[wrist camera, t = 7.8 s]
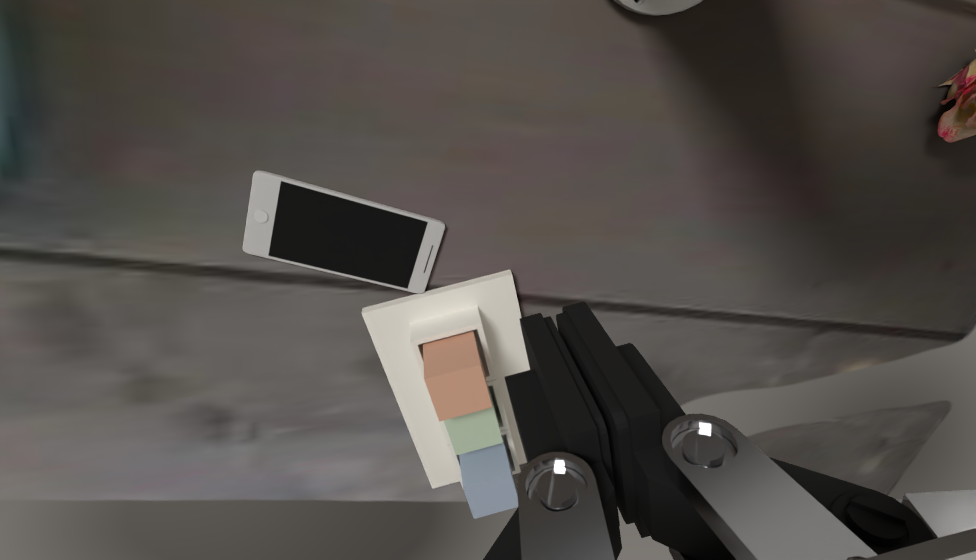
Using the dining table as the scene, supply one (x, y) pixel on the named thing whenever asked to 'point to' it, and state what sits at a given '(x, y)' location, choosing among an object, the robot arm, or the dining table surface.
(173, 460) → the dining table surface
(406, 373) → the board
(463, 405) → the terracotta button
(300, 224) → the smartphone
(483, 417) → the sage button
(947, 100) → the flower
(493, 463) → the slate button
